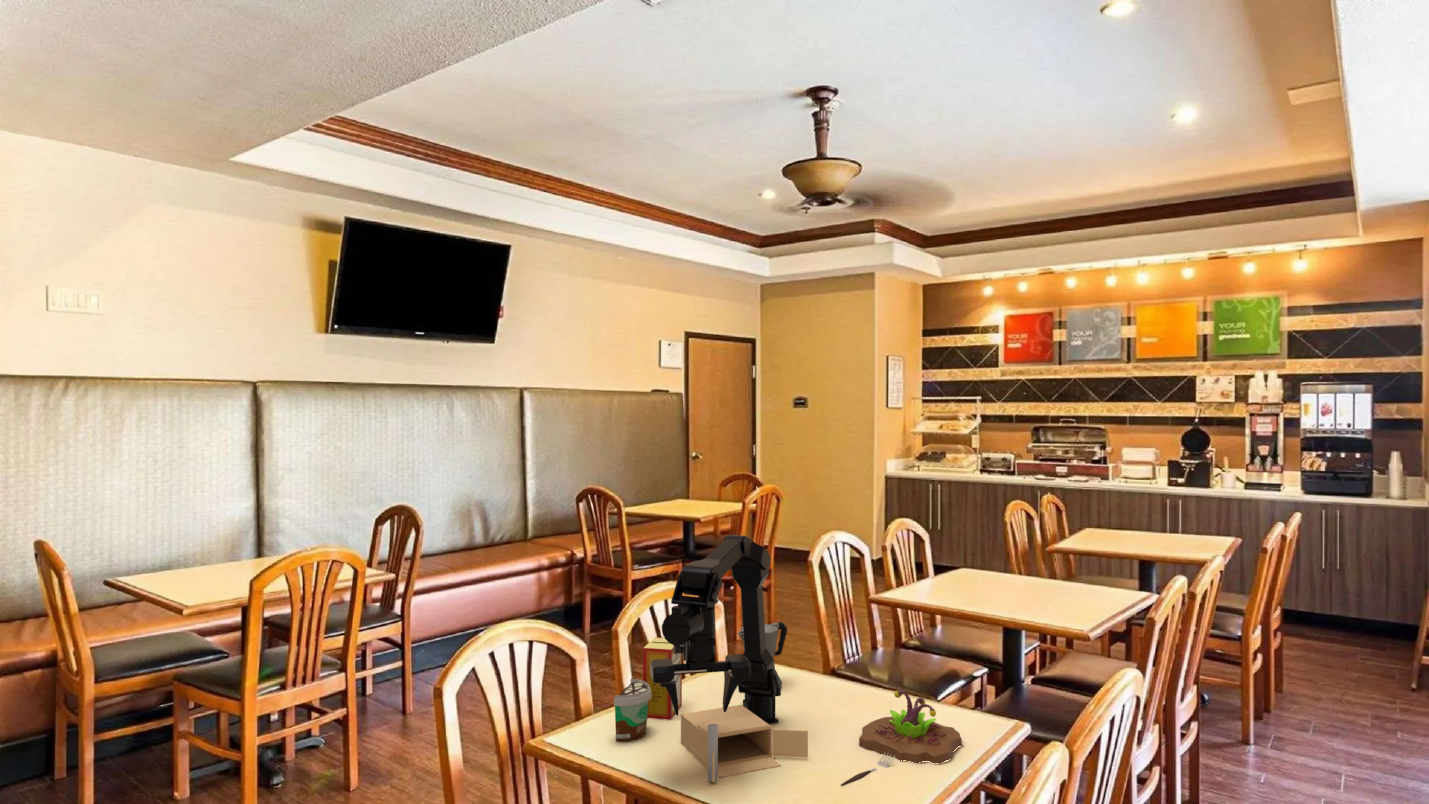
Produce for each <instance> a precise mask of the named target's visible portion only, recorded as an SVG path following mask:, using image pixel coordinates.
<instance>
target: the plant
mask: <svg viewBox="0 0 1429 804" xmlns="http://www.w3.org/2000/svg"><path fill="white" fill-rule="evenodd" d="M893 695H894V698H897V699H900V698H901V697H902V695H904V697H905V699H906V703H907V705H906V707H907V708H906V710H905V709H901V710H900V713H899V712H897V711H895V710H889V714H890V715H891V716H883V717H881V718H877V719H875V720H873V721H870V722H869V723H868V724H865V725H864V726H863V727H862V728H861V731H862V732H861V735H860V736H859V737H858V740H859V741H858V742H859V743H858V745H859V746H858V747H860V748H862V749H864V750H866V751H870V752H874V751H875V752H874V753H876V754H879V755H881V754H883V755H884V753H885V752H886V753H885V755H886V756H887V754H888V753H889V754H888V756H887V757H889V756H890V755H891V754H892V755H891V757H890V758H893V756H894V755H895V756H894V757H895V758H894V759H895V760H898V761H899V760H900V761H899V762H904V761H903V760H907V761H911V762H914V763H919V762H922V761H930V762H932V763H942V762H944V761H946V760H949V759H950V758H951V757H953V755H952V753H953V751H954V750H955V749H956V748H957V747H958V746H961V745H963V743H962V742H963V740H962V737H961V734H960V732H959V731H957V730H956V729H955V728H954V727H951V726H945V725H942V724H940V723H937V722H935V721H936V720H937V719H936V718H935V716H936V715H937V712H936V709H934V708H933V706H931V705H930V704H927V703H926V699H924V698H923V697H917V699H916V700H915V701H914V704H913V702H912V699H911V697H910V696H909V693H908V692H906V691H905V690H903V689H897V690H896V691H895V692H894V694H893ZM924 708H929V716H931V717H932V718H930V719H926V720H925V716H926V713H925V712H921V711H922V709H924ZM953 754H954V753H953ZM883 755H882V756H883ZM885 755H884V756H885ZM886 756H885V757H886ZM951 759H952V758H951ZM901 760H902V761H901ZM907 761H906V762H907ZM911 762H910V763H911ZM914 763H913V764H914Z"/></svg>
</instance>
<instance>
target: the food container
mask: <svg viewBox="0 0 1429 804" xmlns="http://www.w3.org/2000/svg"><path fill="white" fill-rule="evenodd" d="M651 697H652V694H651V689H650V687H649V684H648V683H646V682H644V681H643V679H642V680H641V679H636V678H630V683H629V685H628V686H626V687H625V688H623V690H622V691H621V693H620V694H614V699H613V701H614V702H613V706H614V717H615V719H614V720H615V723H614V724H615V742H616V743H627V742H634V741H638V740H641V739H643V738H644V737H645V736H646V735H647V724H648V718H647V712H648V700H649V699H650V698H651Z"/></svg>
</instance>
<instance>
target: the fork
mask: <svg viewBox="0 0 1429 804" xmlns="http://www.w3.org/2000/svg"><path fill="white" fill-rule="evenodd" d="M885 753H886V752H885ZM885 753H884V755H881V758H880V759H879V760H878V761H877V762H876V765H877V766H879V767H882V768H885V769H888V768H889V767H890V765H891V764H892V761H893V760H894V759H895V758H894V756H895V755H894V756H893V757H891V755H892V754H891V755H890V757H889V756H888V754H889V753H888V754H887V756H885ZM883 758H884V759H883ZM882 760H883V761H882ZM878 770H879V769H878V768H875V767H873V768H872V769H868V770H866V771H863V772H859V773H857V774H856V775H854V776H852V777H850V778H849V779H847V780H846V781H844V782H843V783H841V784H840V787H842V786H846V785H848V784H851V783H854V782H856V781H859V780H861V779H862V778H864V777H866V776H867V775H869V774H871V773H872V772H874V771H878Z"/></svg>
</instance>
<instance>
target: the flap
mask: <svg viewBox="0 0 1429 804" xmlns="http://www.w3.org/2000/svg"><path fill="white" fill-rule="evenodd" d="M707 781H708V782H709V783H711V782H712V783H715V782H717V781H719V777H718V725H717V724H709V725H708V769H707Z"/></svg>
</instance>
